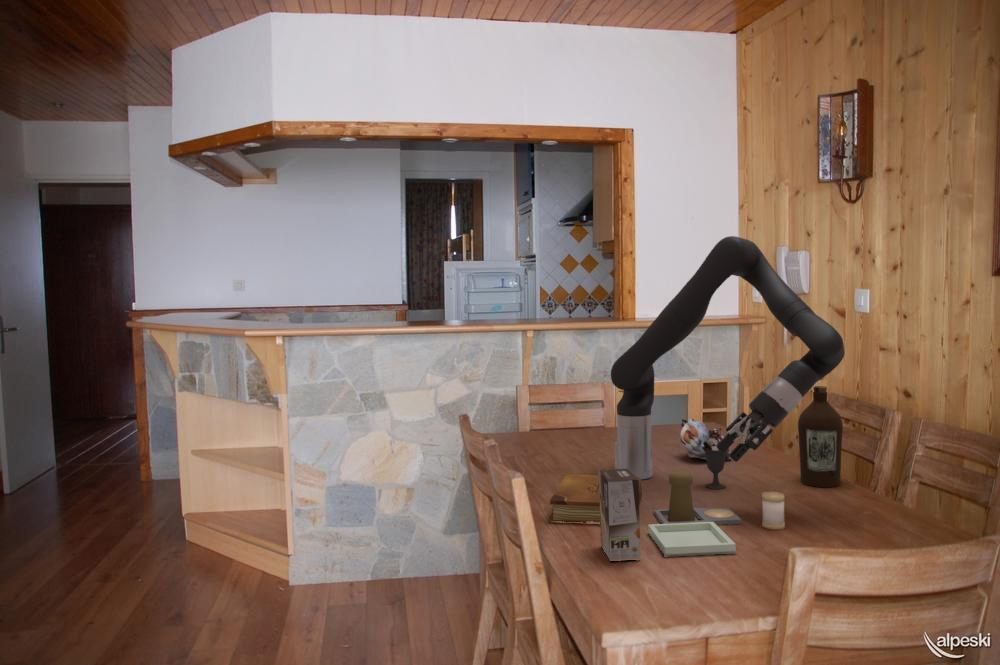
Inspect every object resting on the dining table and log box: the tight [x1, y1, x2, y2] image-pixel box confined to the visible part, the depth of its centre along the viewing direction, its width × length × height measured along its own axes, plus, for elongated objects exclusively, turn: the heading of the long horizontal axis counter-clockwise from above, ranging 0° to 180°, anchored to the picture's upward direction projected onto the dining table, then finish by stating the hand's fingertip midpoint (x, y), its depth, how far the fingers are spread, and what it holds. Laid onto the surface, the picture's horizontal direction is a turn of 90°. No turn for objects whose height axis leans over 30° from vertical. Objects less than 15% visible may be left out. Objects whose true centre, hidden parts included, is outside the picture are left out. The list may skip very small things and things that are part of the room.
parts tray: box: [647, 522, 737, 557], centre depth 158 cm, size 14×14×2 cm
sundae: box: [702, 427, 730, 490], centre depth 199 cm, size 7×7×15 cm
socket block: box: [653, 506, 742, 526], centre depth 173 cm, size 17×10×1 cm, turn 92°
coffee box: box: [598, 468, 641, 560], centre depth 153 cm, size 9×6×16 cm
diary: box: [549, 474, 643, 523], centre depth 183 cm, size 23×19×6 cm
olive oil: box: [797, 385, 844, 488], centre depth 198 cm, size 11×11×25 cm
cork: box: [667, 470, 696, 522], centre depth 173 cm, size 6×6×11 cm
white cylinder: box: [761, 491, 786, 531], centre depth 167 cm, size 5×5×7 cm
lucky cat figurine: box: [679, 417, 732, 462], centre depth 228 cm, size 15×12×14 cm
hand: (725, 454), depth 173 cm, fingers open, 8 cm apart
